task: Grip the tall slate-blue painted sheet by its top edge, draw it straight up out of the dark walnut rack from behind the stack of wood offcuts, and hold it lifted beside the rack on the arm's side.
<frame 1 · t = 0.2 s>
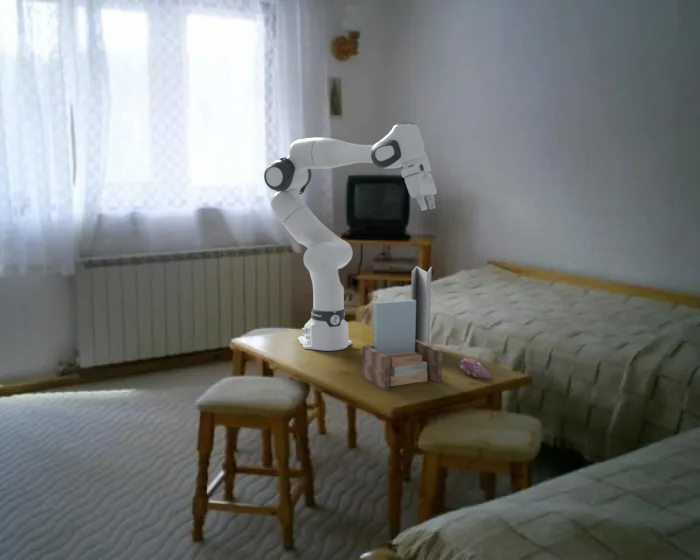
hand: (428, 209, 244), 52 cm above the table, tool tilted 20°, fingers open, 8 cm apart
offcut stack: (403, 380, 229), resting in rack
sheet: (394, 375, 234), resting in rack
brochure: (419, 352, 262), on the table
rack: (400, 378, 230), on the table
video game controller: (473, 376, 234), on the table
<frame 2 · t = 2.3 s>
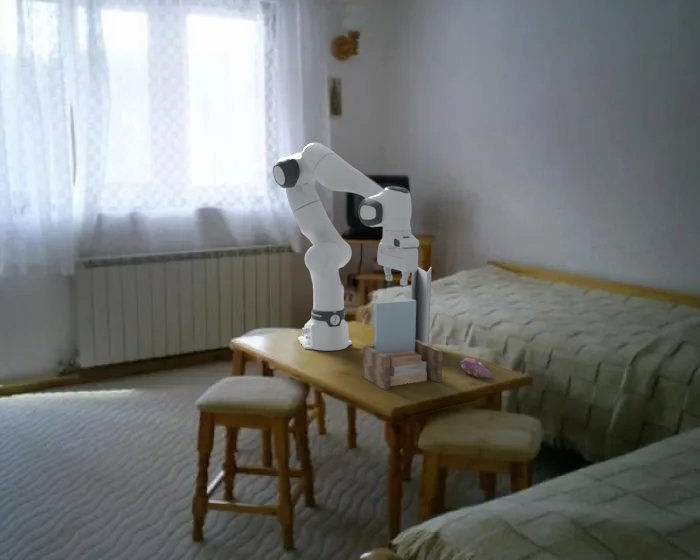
hand: (396, 283, 229), 30 cm above the table, tool pointing down, fingers open, 8 cm apart
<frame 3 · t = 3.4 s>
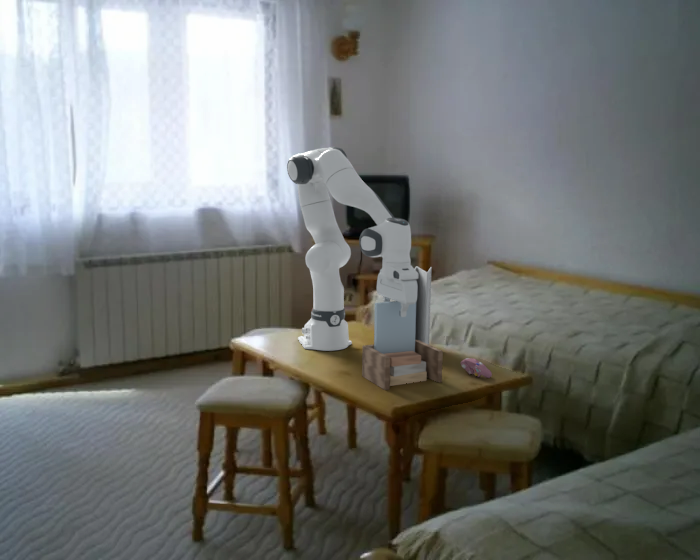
hand: (395, 313, 231), 20 cm above the table, tool pointing down, fingers open, 8 cm apart
nothing on the table moved.
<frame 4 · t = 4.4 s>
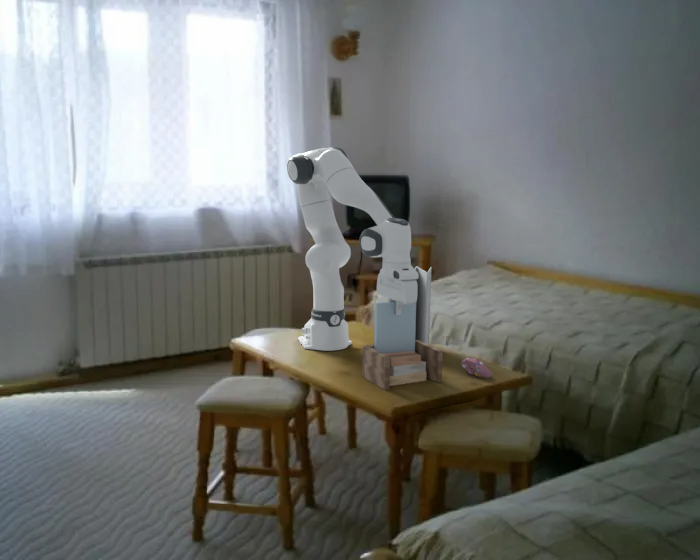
hand: (395, 313, 231), 20 cm above the table, tool pointing down, fingers closed on sheet, 2 cm apart
sheet: (394, 375, 234), resting in rack, touching gripper
everything else where it was.
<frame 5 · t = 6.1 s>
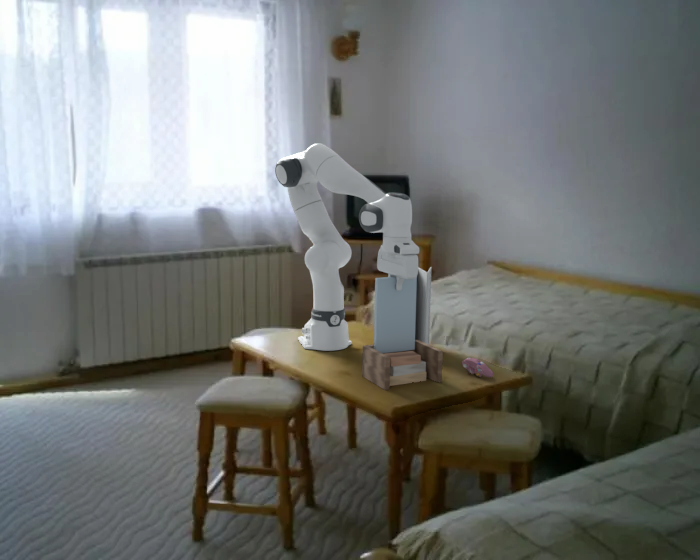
hand: (395, 289, 229), 28 cm above the table, tool pointing down, fingers closed on sheet
sheet: (394, 351, 233), point 8 cm above the table, touching gripper
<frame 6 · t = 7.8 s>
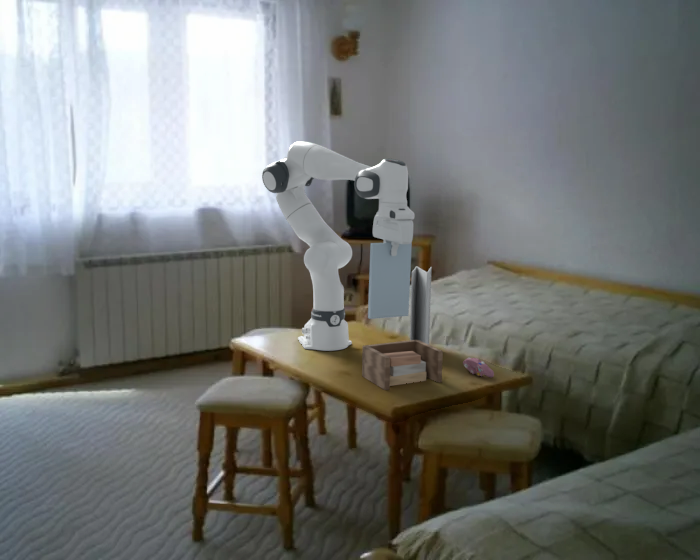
hand: (390, 255, 232), 38 cm above the table, tool pointing down, fingers closed on sheet
sheet: (388, 316, 235), point 18 cm above the table, touching gripper
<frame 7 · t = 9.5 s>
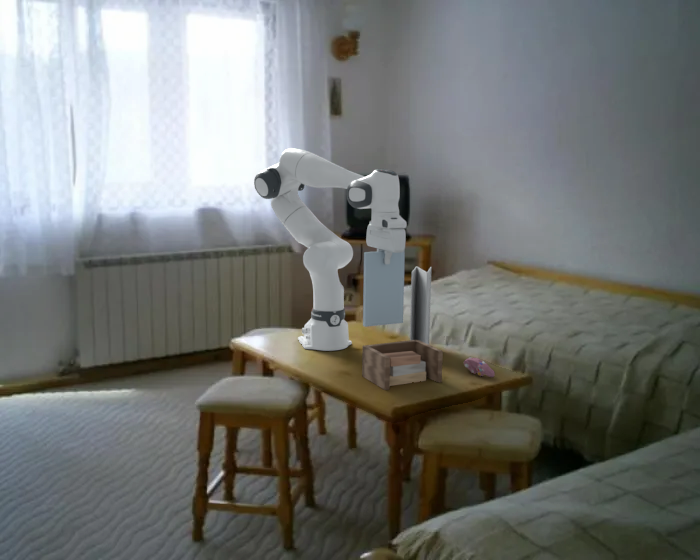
hand: (384, 263, 235), 35 cm above the table, tool pointing down, fingers closed on sheet
sheet: (383, 324, 239), point 15 cm above the table, touching gripper
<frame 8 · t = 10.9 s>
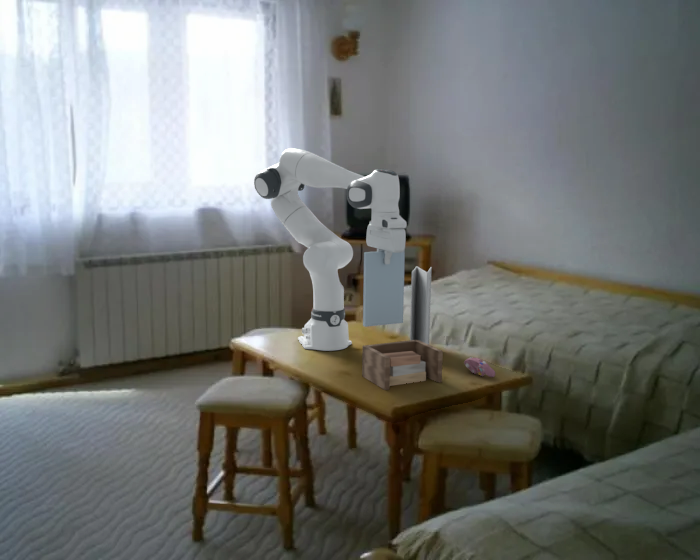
hand: (384, 263, 235), 35 cm above the table, tool pointing down, fingers closed on sheet
sheet: (383, 324, 239), point 15 cm above the table, touching gripper
at the end: the gripper is holding sheet; sheet inside the target area (0.2 cm from its centre), point 14.9 cm above the table; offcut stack moved 0.6 cm from its start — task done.
